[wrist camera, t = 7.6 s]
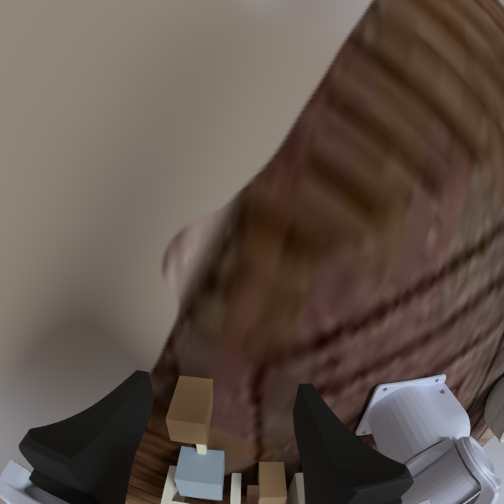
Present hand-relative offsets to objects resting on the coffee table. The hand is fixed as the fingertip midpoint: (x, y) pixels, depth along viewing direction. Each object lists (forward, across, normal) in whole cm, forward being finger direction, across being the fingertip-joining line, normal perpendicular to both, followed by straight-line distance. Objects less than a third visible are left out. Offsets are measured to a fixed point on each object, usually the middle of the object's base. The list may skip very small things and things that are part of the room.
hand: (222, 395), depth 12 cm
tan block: (+9, -5, +28) cm, 30 cm away
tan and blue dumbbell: (+9, +3, +16) cm, 19 cm away
